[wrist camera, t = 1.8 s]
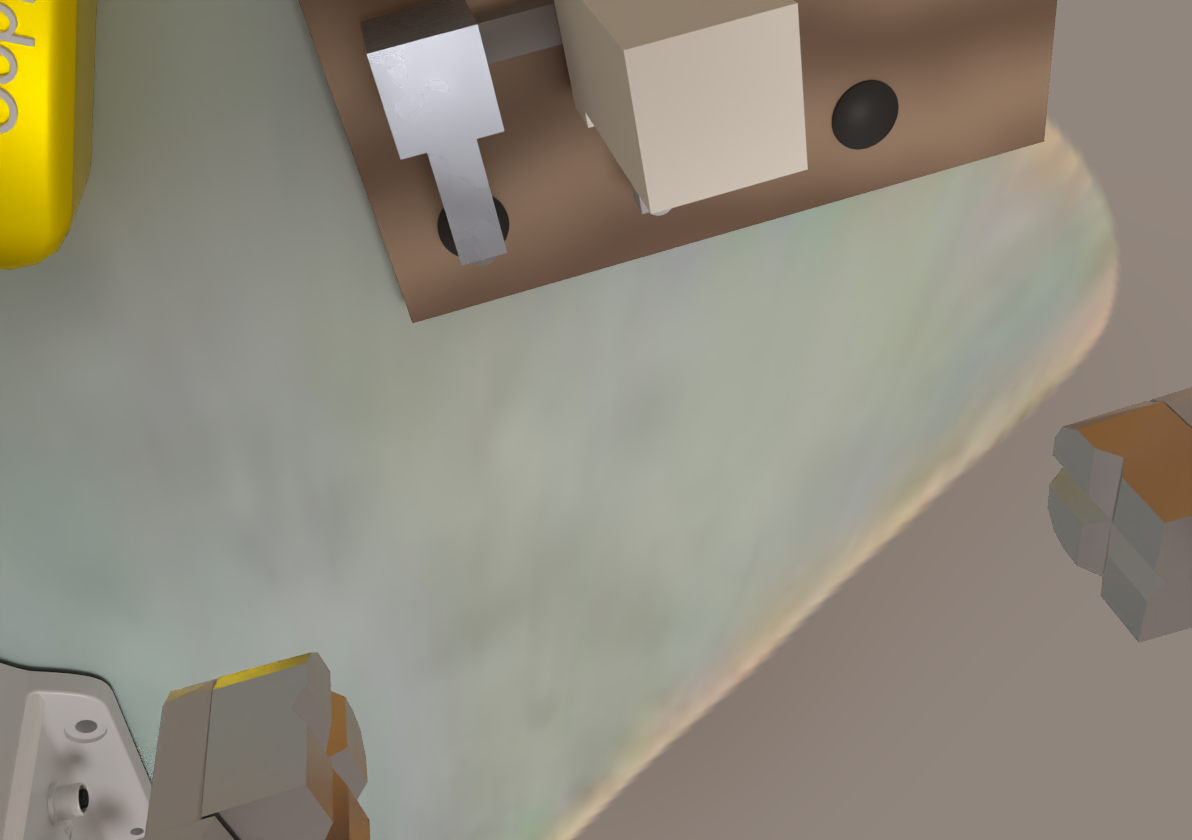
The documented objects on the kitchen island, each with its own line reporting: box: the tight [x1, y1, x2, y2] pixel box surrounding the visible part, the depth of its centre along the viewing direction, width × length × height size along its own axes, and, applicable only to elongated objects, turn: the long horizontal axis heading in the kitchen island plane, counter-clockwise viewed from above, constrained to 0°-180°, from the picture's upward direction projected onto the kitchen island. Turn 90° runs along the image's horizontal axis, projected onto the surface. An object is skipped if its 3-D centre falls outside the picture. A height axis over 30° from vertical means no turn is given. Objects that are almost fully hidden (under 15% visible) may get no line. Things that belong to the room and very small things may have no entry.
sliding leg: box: [554, 0, 808, 216], centre depth 29 cm, size 9×4×10 cm, turn 11°
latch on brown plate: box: [299, 0, 1057, 323], centre depth 34 cm, size 12×24×2 cm, turn 101°
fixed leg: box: [360, 0, 507, 266], centre depth 31 cm, size 8×3×4 cm, turn 11°
